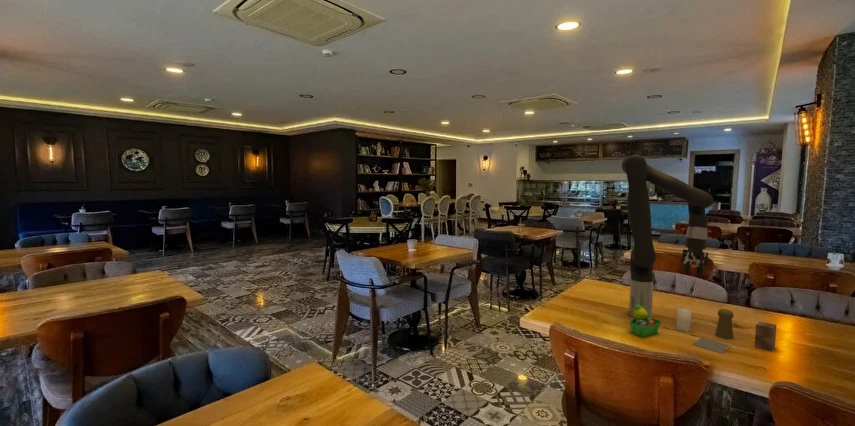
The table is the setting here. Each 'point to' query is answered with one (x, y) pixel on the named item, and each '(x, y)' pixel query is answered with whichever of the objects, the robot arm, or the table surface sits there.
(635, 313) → the fruit basket
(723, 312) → the cork
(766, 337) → the walnut block
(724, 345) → the grey flat sheet
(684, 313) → the cream block
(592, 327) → the table surface
